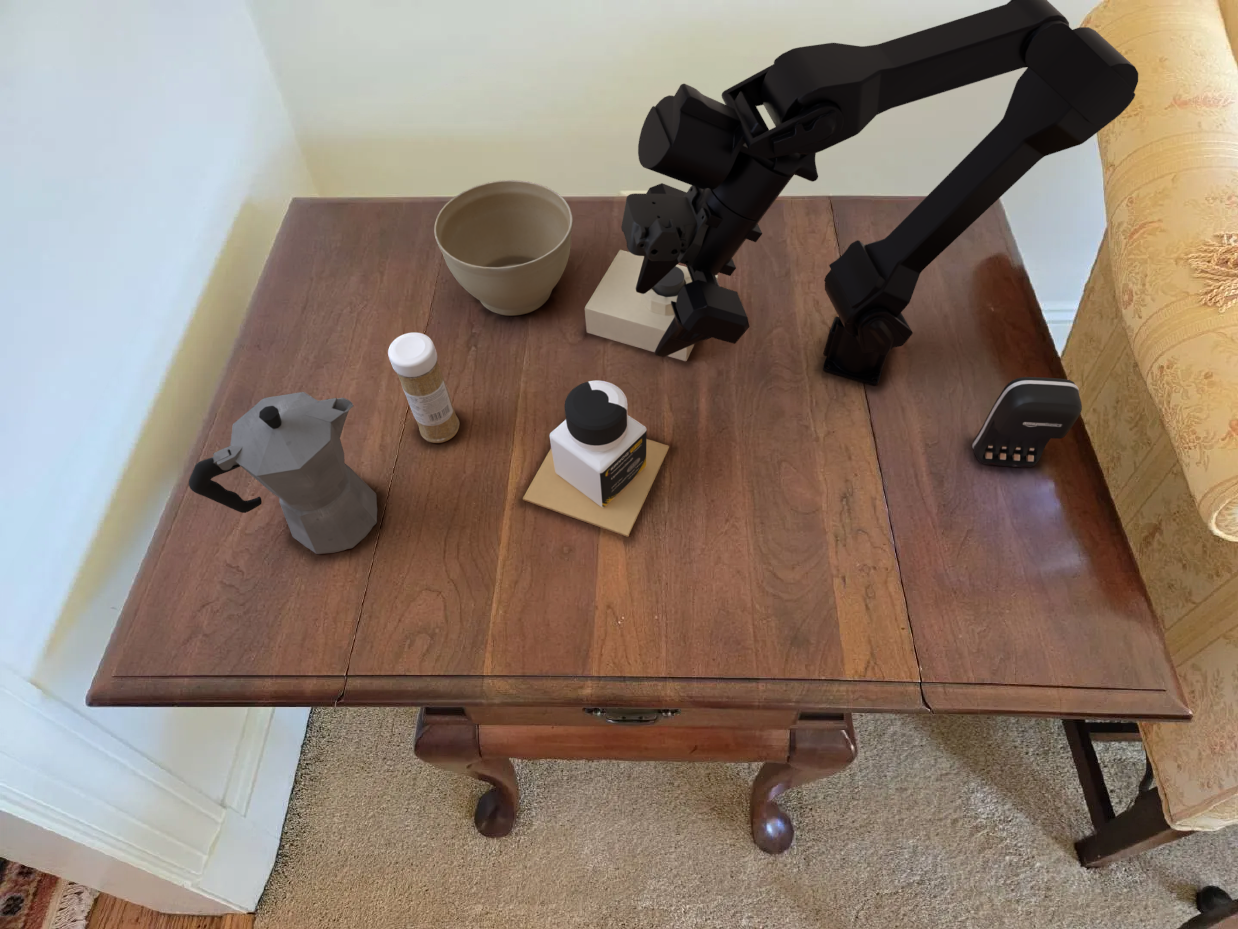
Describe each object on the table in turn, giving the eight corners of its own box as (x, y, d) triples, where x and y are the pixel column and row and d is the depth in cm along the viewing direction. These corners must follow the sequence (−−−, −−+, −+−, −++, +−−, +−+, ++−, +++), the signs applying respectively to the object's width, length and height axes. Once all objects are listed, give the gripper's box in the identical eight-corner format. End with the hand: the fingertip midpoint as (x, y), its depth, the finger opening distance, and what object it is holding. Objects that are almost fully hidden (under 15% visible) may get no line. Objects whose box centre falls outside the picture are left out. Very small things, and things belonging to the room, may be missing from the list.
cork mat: (669, 448, 85) (669, 445, 85) (628, 537, 79) (628, 535, 79) (570, 416, 88) (569, 414, 88) (523, 500, 82) (522, 498, 82)
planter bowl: (603, 293, 99) (600, 224, 90) (500, 356, 93) (485, 289, 84) (529, 231, 106) (518, 161, 97) (428, 286, 100) (408, 217, 91)
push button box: (715, 300, 98) (719, 263, 93) (686, 361, 92) (688, 326, 87) (620, 274, 101) (619, 237, 96) (586, 332, 95) (583, 296, 90)
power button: (687, 280, 92) (688, 269, 90) (677, 300, 90) (678, 289, 89) (659, 273, 93) (659, 261, 91) (648, 292, 91) (648, 281, 89)
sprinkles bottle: (454, 408, 89) (428, 325, 78) (464, 438, 87) (437, 357, 76) (415, 419, 88) (383, 337, 77) (424, 450, 86) (391, 370, 75)
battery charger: (973, 470, 83) (1016, 404, 73) (968, 441, 85) (1009, 373, 75) (1041, 475, 82) (1093, 408, 73) (1034, 446, 84) (1084, 377, 75)
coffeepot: (376, 457, 86) (320, 345, 71) (412, 518, 81) (360, 412, 66) (240, 525, 81) (149, 421, 66) (270, 594, 77) (179, 499, 62)
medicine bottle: (603, 510, 81) (598, 443, 71) (554, 473, 83) (542, 403, 73) (647, 466, 83) (648, 396, 74) (598, 432, 86) (592, 359, 76)
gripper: (637, 108, 70) (564, 241, 80) (687, 240, 59) (595, 374, 70) (734, 149, 75) (654, 270, 86) (796, 277, 65) (696, 397, 75)
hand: (648, 322), depth 79 cm, fingers open, 9 cm apart
